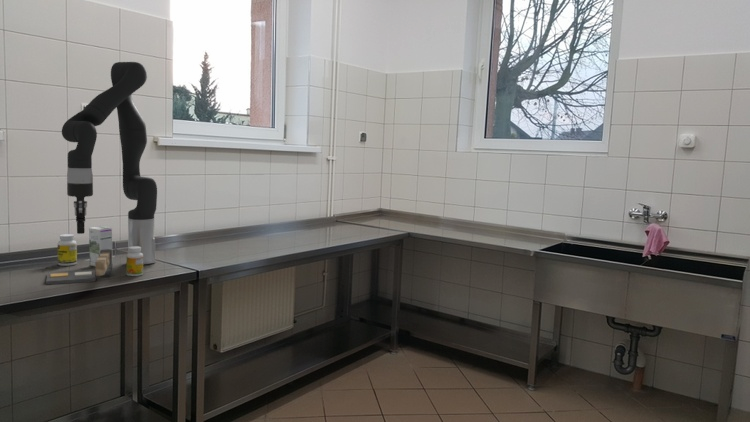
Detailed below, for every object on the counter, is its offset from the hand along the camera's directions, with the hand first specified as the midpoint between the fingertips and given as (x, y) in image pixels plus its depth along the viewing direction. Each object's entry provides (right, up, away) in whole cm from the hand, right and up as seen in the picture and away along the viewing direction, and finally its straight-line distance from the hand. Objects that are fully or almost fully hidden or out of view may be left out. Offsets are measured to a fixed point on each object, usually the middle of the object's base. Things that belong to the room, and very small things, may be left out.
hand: (80, 233), depth 182 cm
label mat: (-3, -15, 0) cm, 15 cm away
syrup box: (-3, -13, +20) cm, 24 cm away
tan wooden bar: (+9, -12, -3) cm, 15 cm away
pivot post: (+6, -15, +5) cm, 17 cm away
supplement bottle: (+14, -15, +9) cm, 23 cm away
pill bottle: (-16, -13, +20) cm, 28 cm away
